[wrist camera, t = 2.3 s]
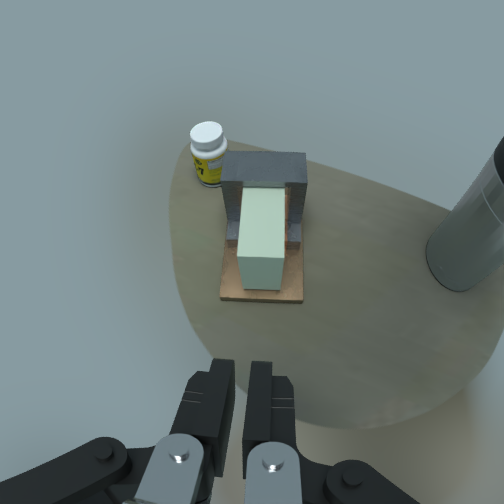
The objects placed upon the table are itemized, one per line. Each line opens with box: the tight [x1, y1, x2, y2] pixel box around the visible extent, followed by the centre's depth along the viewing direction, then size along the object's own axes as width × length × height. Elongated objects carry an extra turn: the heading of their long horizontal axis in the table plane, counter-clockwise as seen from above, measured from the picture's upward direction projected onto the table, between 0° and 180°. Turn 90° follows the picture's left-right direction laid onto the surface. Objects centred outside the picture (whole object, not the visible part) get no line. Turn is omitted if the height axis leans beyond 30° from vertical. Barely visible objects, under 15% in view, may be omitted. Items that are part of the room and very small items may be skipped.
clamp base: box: [220, 151, 308, 304], centre depth 33 cm, size 15×9×10 cm, turn 177°
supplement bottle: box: [190, 122, 229, 187], centre depth 39 cm, size 5×5×8 cm
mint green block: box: [237, 186, 285, 290], centre depth 32 cm, size 8×4×8 cm, turn 177°
